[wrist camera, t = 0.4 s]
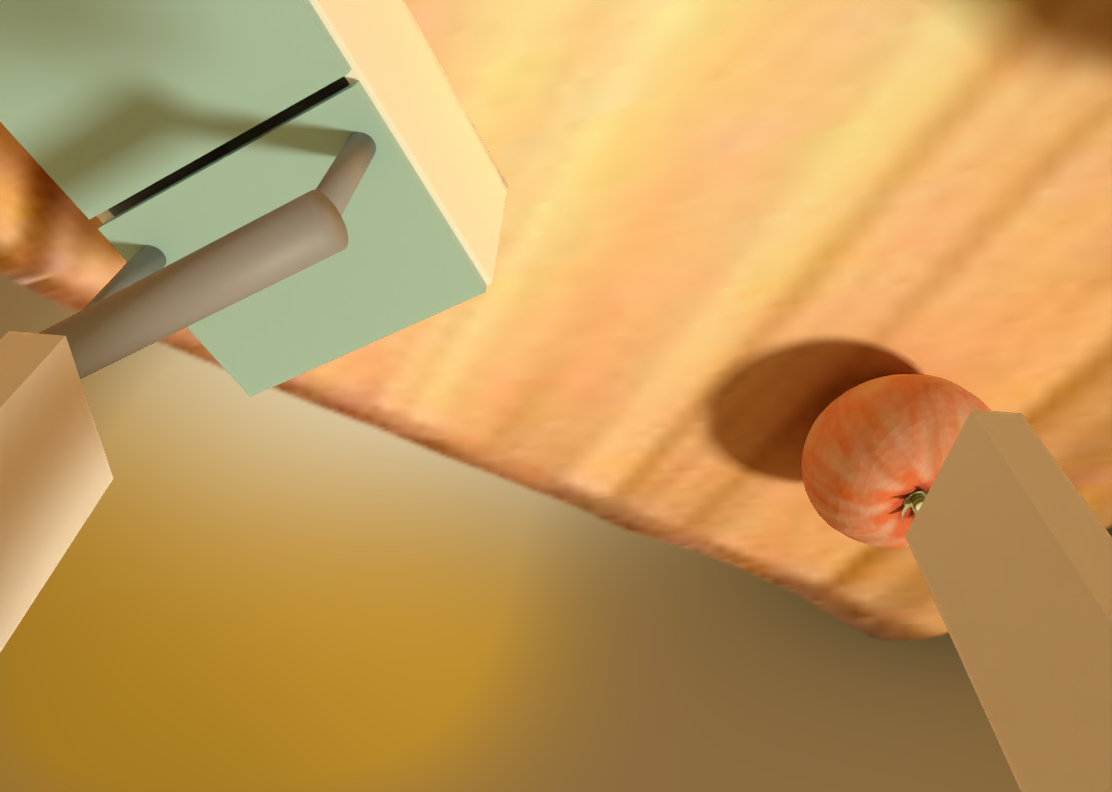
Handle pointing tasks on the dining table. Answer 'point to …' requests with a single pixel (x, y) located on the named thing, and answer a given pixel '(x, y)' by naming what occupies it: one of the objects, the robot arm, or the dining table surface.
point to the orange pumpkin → (882, 453)
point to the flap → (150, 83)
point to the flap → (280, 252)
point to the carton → (399, 121)
